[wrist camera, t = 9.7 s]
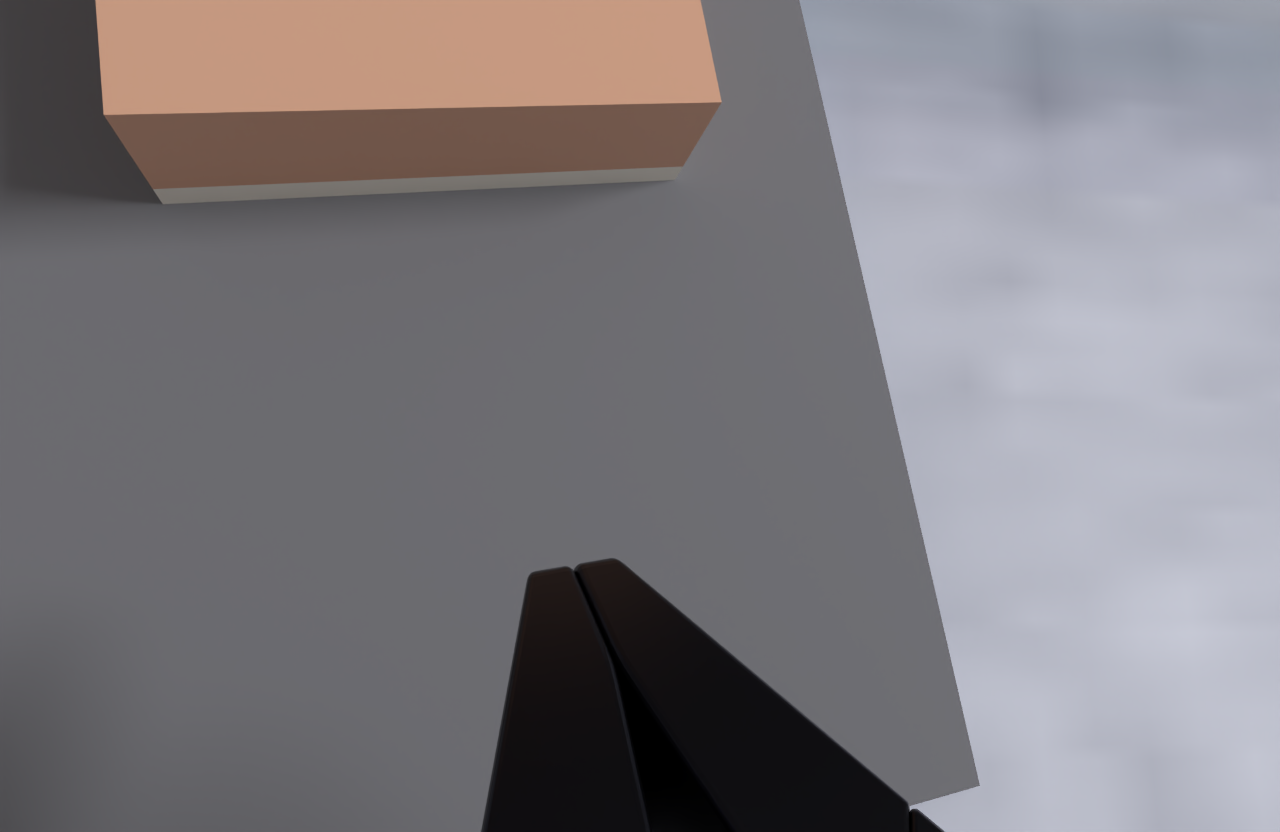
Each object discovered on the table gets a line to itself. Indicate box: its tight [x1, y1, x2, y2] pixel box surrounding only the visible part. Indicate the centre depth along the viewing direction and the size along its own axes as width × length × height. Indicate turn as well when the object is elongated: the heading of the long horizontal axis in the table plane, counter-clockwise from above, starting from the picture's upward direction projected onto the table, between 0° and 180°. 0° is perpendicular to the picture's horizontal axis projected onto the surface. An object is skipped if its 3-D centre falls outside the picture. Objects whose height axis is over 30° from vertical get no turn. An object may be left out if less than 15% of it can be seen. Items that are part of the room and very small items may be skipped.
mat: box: [0, 0, 980, 832], centre depth 17 cm, size 23×18×1 cm
